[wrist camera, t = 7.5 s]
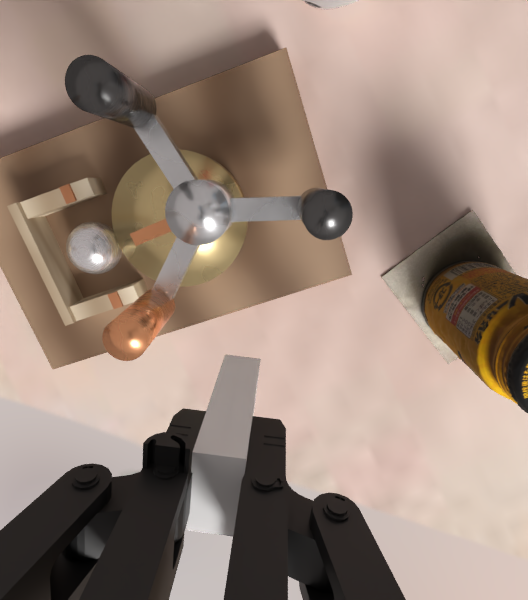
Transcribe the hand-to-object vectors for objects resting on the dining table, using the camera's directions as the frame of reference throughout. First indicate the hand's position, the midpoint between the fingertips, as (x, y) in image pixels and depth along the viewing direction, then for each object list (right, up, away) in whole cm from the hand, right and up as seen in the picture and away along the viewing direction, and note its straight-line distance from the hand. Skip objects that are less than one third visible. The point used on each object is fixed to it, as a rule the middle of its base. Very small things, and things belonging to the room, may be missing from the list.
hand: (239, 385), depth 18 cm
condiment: (+15, +4, +12) cm, 20 cm away
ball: (-9, +7, +9) cm, 15 cm away
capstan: (-2, +11, +8) cm, 13 cm away
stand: (-6, +9, +11) cm, 15 cm away
